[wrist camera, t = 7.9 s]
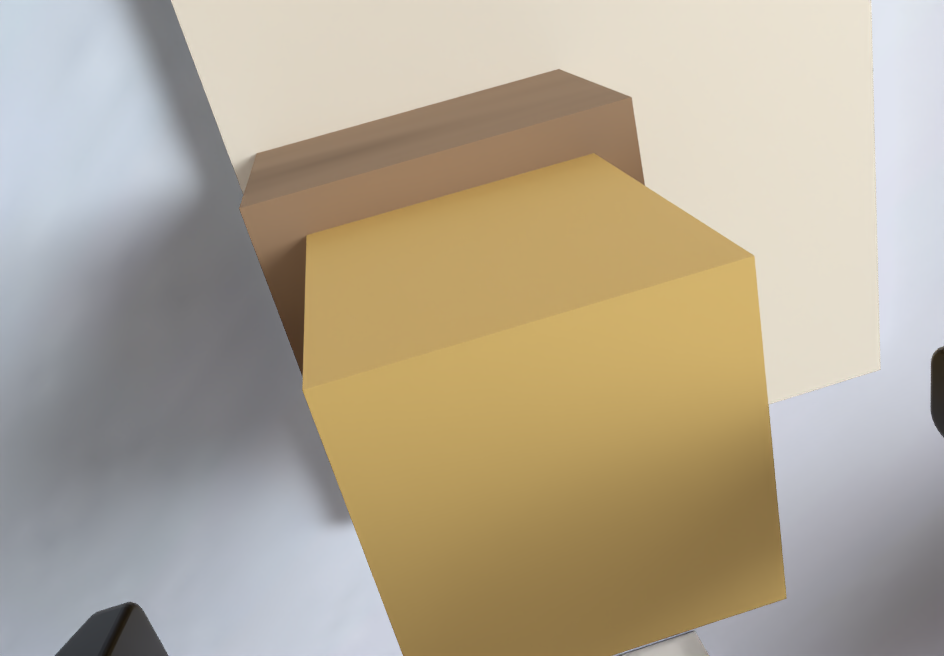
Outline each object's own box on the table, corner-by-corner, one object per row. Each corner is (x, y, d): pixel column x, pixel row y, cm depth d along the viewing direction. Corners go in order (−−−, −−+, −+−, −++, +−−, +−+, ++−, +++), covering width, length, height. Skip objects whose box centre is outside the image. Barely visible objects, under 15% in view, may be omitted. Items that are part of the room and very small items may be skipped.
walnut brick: (609, 339, 18) (681, 428, 15) (350, 417, 18) (360, 528, 14) (558, 69, 16) (631, 97, 12) (256, 153, 15) (239, 208, 12)
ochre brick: (637, 401, 14) (786, 598, 10) (389, 477, 14) (425, 716, 10) (593, 153, 12) (754, 255, 8) (306, 235, 12) (302, 389, 8)
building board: (860, 355, 21) (880, 369, 20) (365, 508, 20) (368, 529, 19) (833, -379, 14) (861, -397, 14) (105, -198, 14) (93, -207, 13)
